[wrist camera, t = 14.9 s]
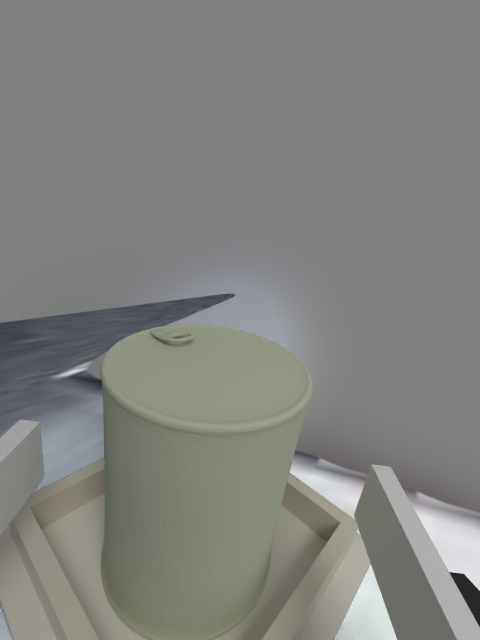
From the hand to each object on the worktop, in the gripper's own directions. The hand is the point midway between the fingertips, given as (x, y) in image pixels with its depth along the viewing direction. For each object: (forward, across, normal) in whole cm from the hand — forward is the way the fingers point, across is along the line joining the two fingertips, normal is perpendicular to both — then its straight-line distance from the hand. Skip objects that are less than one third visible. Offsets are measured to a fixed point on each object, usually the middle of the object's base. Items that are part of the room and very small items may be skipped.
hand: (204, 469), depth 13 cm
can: (+3, 0, -8) cm, 9 cm away
